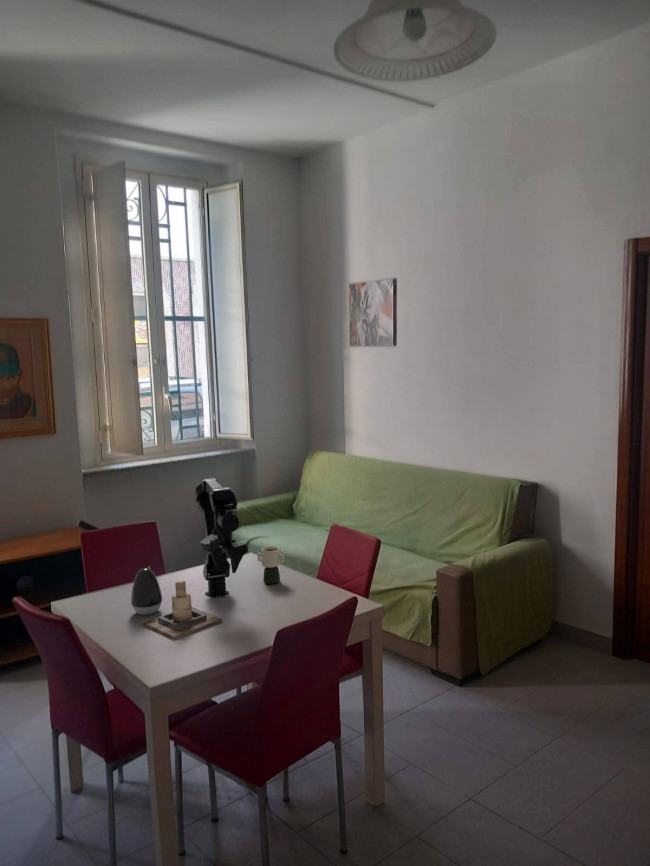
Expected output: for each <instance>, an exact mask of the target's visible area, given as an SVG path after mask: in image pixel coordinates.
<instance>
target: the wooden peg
mask: <svg viewBox="0 0 650 866" xmlns="http://www.w3.org/2000/svg"><path fill="white" fill-rule="evenodd" d="M174 584H175V585H174V586H175V587H174V588H175V594H172V596H171V606H172V607H171V612H173V622H175V623H178V624H179V623H182V622H184V621H187V620H190V619H192V608H191V607H192V595H191V593H187V586H186V581H185V580H178V581H176V582H174Z"/></svg>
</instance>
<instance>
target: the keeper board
mask: <svg viewBox="0 0 650 866" xmlns="http://www.w3.org/2000/svg"><path fill="white" fill-rule="evenodd" d="M191 608H192V619H190V620H187V621H184V622H182V623H179V624H178V623H175V622H173V611H171V612H169V613H165V614H163V615H160V616H158V617H157V616H156V617H154V618H151V619H147V620H144V621H142V626H144V627H147V628H148V629H151V630H152V631H154V632H156V633H159V634H161V635H163V636H165V637H167V638H170V639H171V640H174V641H175V640H179V639H181V638H183V637H187V636H188V635H191V634H194V633H196V632H199V631H201V630H205V629H207V628H209V627H213V626H216V625H218V624H221V623H223V618H221V617H218V616H215V615H213V614H212V613H208V612H205V611H203V610H201V609H198V608H196V607H193V606H191Z"/></svg>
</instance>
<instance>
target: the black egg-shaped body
mask: <svg viewBox="0 0 650 866" xmlns="http://www.w3.org/2000/svg"><path fill="white" fill-rule="evenodd" d="M162 602H163V595H162V590H161V586H160V584H159V580H158V578H157V577H156V574H155V573H154V572H153V570H152V568H151V566H147V568H146V567H145V568H141V569H139V570H138V571H137V573H136V575H135V578H134V580H133V585H132V589H131V595H130V605H131V606H132V608H133V611H134V612H135V613H136V614H139V615H141V616H149V615H152V614H155V613H156V612H157V611H159V610H160V608H161V606H162Z"/></svg>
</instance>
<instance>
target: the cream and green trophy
mask: <svg viewBox="0 0 650 866" xmlns="http://www.w3.org/2000/svg"><path fill="white" fill-rule="evenodd" d="M257 561H258V562H261V566H262V567H264V571H263V580H262V581H263V583H266V584H274V583H278V582H280V581H281V576H280V571H279V566H280V565H281V563H282V564H283V563H285V554H282V553H281V549H280V547H279V546H276V545H275V546H274V545H273V546H272V545H271V546H265V547H262V548H260V552H257Z"/></svg>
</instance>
